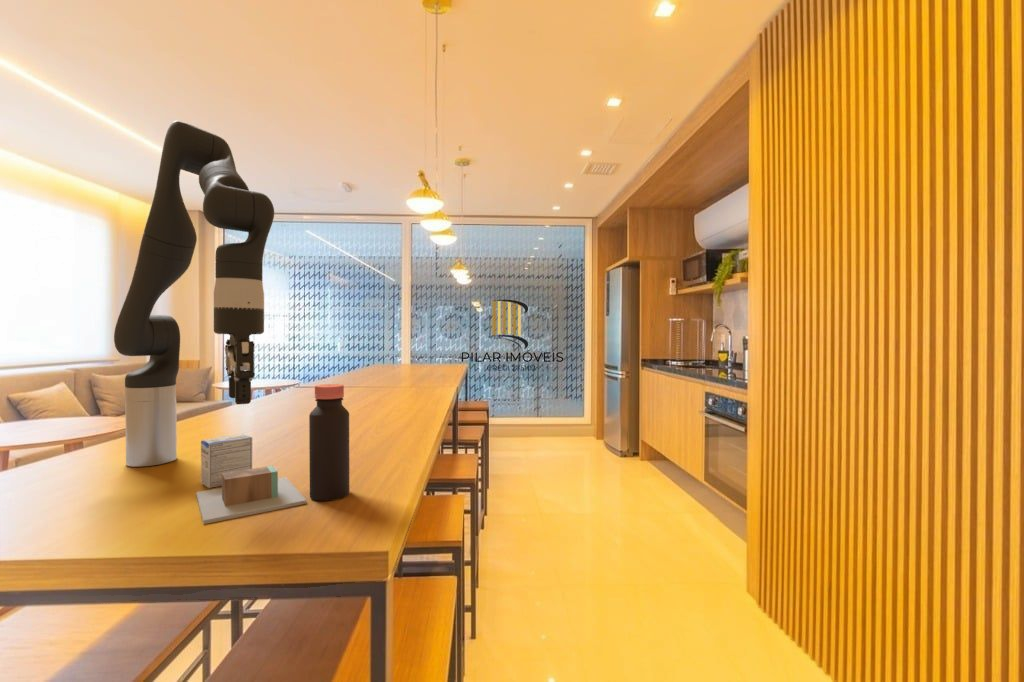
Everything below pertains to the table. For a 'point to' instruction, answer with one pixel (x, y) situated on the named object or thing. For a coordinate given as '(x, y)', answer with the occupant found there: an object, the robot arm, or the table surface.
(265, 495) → the walnut block
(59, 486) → the table surface
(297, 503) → the rubber mat
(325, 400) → the bottle
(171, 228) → the robot arm
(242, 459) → the medicine box
